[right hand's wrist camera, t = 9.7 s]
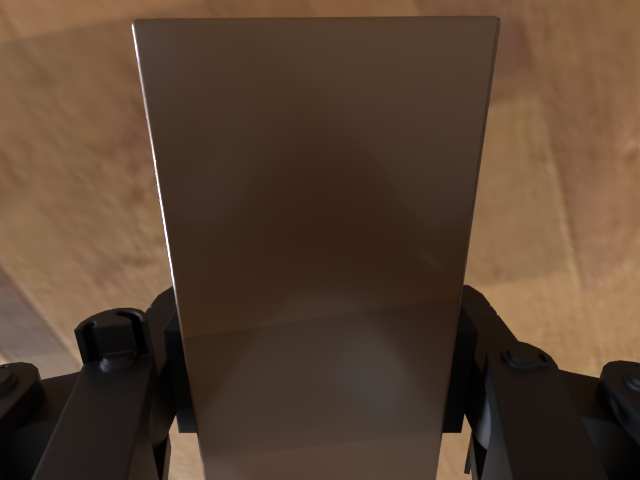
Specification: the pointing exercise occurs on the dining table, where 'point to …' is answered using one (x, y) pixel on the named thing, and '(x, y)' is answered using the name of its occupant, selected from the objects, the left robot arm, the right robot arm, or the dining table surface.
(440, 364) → the bar
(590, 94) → the dining table surface
